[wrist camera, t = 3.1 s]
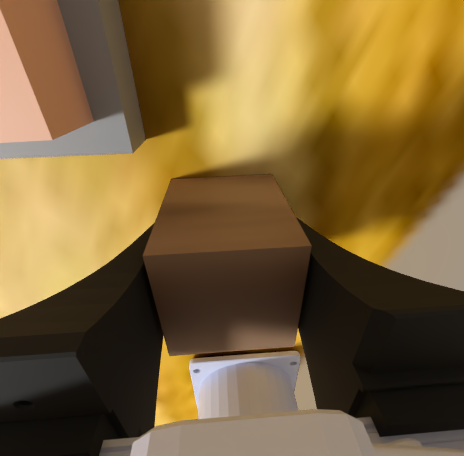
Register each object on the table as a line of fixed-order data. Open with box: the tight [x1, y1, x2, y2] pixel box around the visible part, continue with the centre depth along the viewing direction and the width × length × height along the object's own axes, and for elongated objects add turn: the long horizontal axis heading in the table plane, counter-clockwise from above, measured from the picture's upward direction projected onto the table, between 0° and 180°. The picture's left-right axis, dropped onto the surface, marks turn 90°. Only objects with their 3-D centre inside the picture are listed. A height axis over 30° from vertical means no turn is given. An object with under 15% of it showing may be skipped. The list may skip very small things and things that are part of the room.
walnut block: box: [143, 174, 312, 356], centre depth 10 cm, size 4×4×6 cm
